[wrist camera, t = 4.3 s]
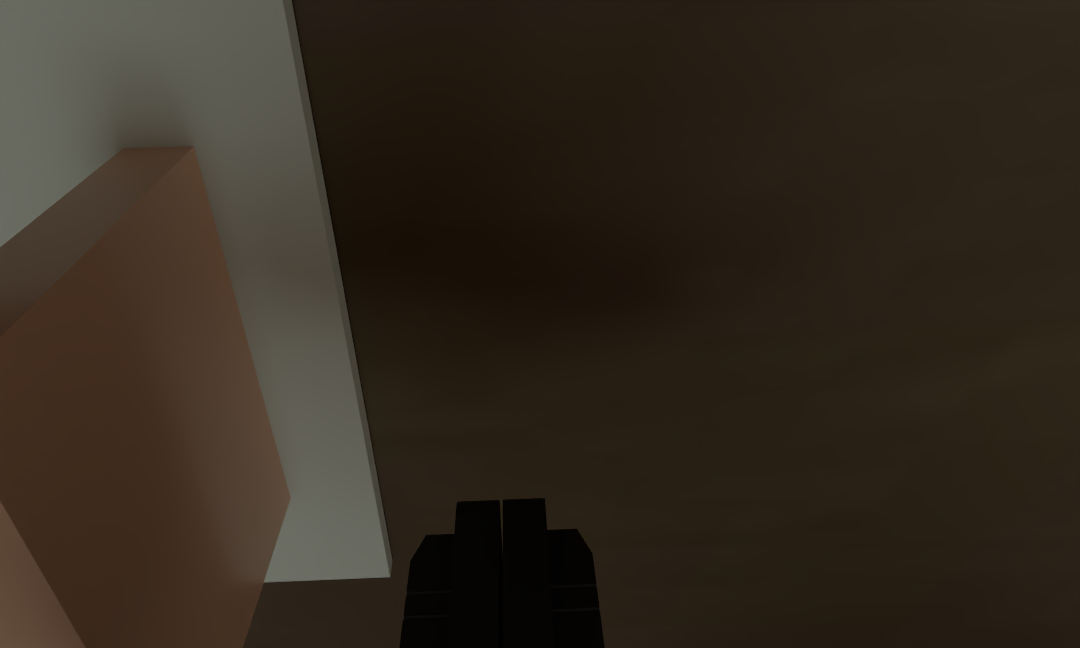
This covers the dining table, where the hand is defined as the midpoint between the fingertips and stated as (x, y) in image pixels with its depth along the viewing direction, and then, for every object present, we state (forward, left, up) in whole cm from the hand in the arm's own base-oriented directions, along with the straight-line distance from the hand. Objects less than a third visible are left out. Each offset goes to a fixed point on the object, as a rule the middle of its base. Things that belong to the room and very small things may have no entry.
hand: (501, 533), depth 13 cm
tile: (+7, 0, -6) cm, 9 cm away
